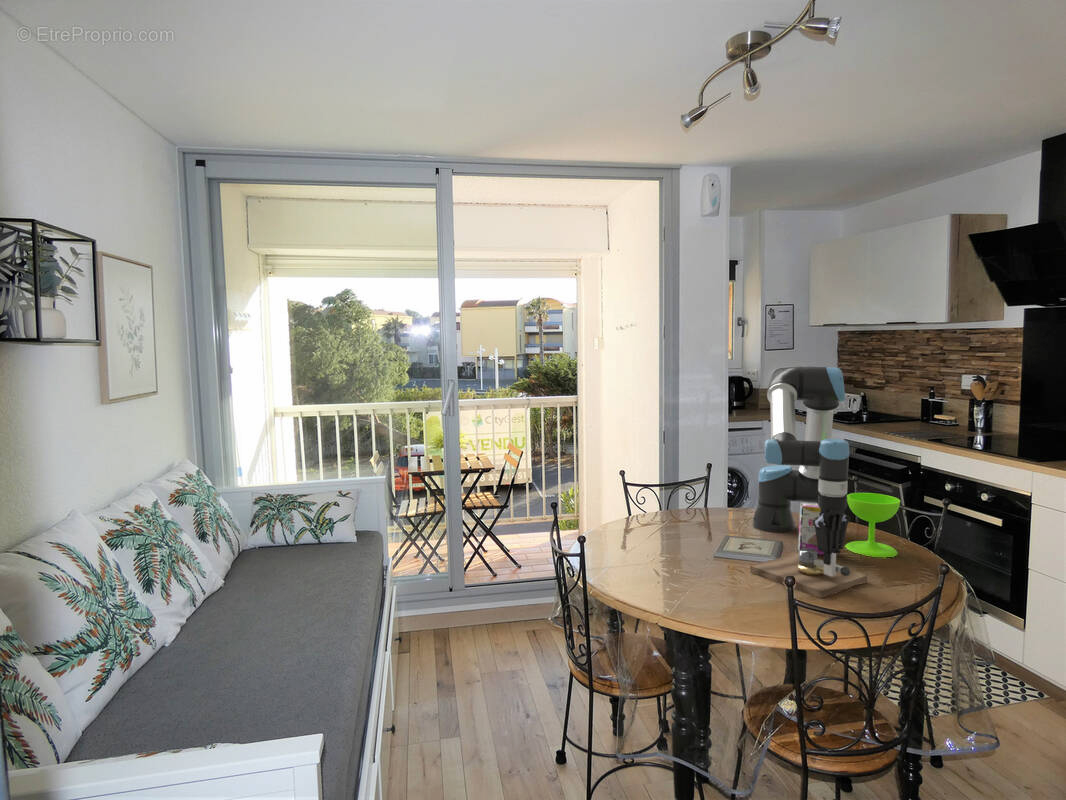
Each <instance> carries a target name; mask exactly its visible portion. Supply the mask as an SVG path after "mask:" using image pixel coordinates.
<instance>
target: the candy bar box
mask: <svg viewBox="0 0 1066 800" xmlns="http://www.w3.org/2000/svg"><path fill="white" fill-rule="evenodd" d="M820 511H821V509H820V507H819V506H818V503H812V502H800V503H799V522H798V523H799V525H798V542H797V543H798V544H797V545H798V546H797V547H798V548H797V549H798V551H799V549H803V548H807V549H813V550H816V551H817V556H824V553H823V552H821V551H819V550H818V545H817V538H816V531H815V526H814V524H813V520H814V519H815V520H817V519H818V518H819V514H820Z"/></svg>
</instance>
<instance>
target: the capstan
mask: <svg viewBox="0 0 1066 800" xmlns="http://www.w3.org/2000/svg"><path fill="white" fill-rule="evenodd" d="M798 554H799V563H798V571H800V572H801V573H804V574H808V575H815V576H820V575H825V574H824V562H823V560H824V559H820V558H818V555H817V551H816V550H813V549H807V548H803V549H799V550H798ZM850 570H851V569H850V567H848V566H845V565H844V566H842V565H839V564H836V572H838V573H841V574H842V575H844V576H848V575H849V574H850Z"/></svg>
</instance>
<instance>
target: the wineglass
mask: <svg viewBox="0 0 1066 800" xmlns="http://www.w3.org/2000/svg"><path fill="white" fill-rule="evenodd" d="M846 496H847V506H848V507H849V510H850V511H851V512H852V513H853V514H854V515H855V516H856V517H858V518H859V519H861V520H863V521H865V522H868V536H867V537H868V538H867V540H853V541H850V542H848V543H846V544H845V545H844V548H845V547H846V548H847V549H848V550H850V551H852V552H854V553H858V554H862V555H866V556H872V557H884V558H883V559H887V558H886V557H893V558H895V557H894V556H896V555H897V554H898V553H899V552H898V551H897V550H896V549H895V547H893V546H891V545H888V544H884V543H881V542H876V539H875V537H876V530H875V529H876V523H881V522H886V521H887V520H889V519H892V518H893V517H894V516H895V515H896V514H897V512H898V511H899V508H900V505H901V499H899V498H898V497H895V496H891V495H888V494H887V495H886V494H881V493H873V492H852V493H849V494H848V493H847V494H846ZM898 555H899V554H898ZM898 555H897V556H898ZM897 556H896V557H897Z"/></svg>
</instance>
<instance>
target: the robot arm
mask: <svg viewBox="0 0 1066 800" xmlns="http://www.w3.org/2000/svg"><path fill="white" fill-rule="evenodd" d="M844 380H845V379H844V375H843V370H842V369H840V368H839V367H830V366H791V367H788V368H785V369H783V370H782V371H779V372H778V373H777V374H776V375H775V376H773V378H772V379H771V380H770V381H769V384H768V387H767V390H766V397H767V398H766V399H767V400H768V402H769V403H770V439H769V438H767V439H765V441H764V461H765V463H766V464H770V465H769V466H768V465H767V466H764V467H762V468H761V469H759V472H758V478H757V479H758V480H757V481H758V495H757V498H758V499H757V506H756V509H755V512H754V515H753V518H752V527H754V528H756V529H758V530H762V531H767V532H772V533H773V532H776V533H777V532H778V533H785V532H791V531H794V530H795V529H796V523H795V522H796V521H795V520H794V516H793V513H792V509H791V508H792V507H791V505H792V504H791V502H800V503H813V504H818V506H819V507H820V509H821V511H820V514H819V518H818V519H817V520H815V519H814V520H813V524H814V526H815V531H816V538H817V545H818V550H819V551H821V552H823V553H824V555H823V559H822V560H823V562H824V574H826V575H829V576H831V577H833V576H835V572H836V565H837V560H838V559H837V557H838V554H841V553H842V552H841V550H843V548H844V546H845V545H844V544H845V538H846V535H847V534H846V533H847V529H848V525H849V522H850V520H851V517H850V516H849V515H846V514H845V510H846V509H847V507H848V503H847V495H848V480H849V477H848V476H849V464H850V463H849V462H850V461H849V460H850V459H849V458H850V454H851V453H850V444H849V442H848V441H846V440H843V439H838V438H832V433H833V423H834V421H833V420H834V411H835V410H837V409H838V408H839V406H840V403H842V402H845V398H846V397H845V396H846V392H845V391H846V390H845V383H844ZM796 401H802V405H803V406H804V407H805V408H806V420H805V432H804V433H805V434H804V440H798V439H797V423H796V422H797V421H796V409H795V408H796V405H795V403H796ZM792 466H798V469H793V468H792Z"/></svg>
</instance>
